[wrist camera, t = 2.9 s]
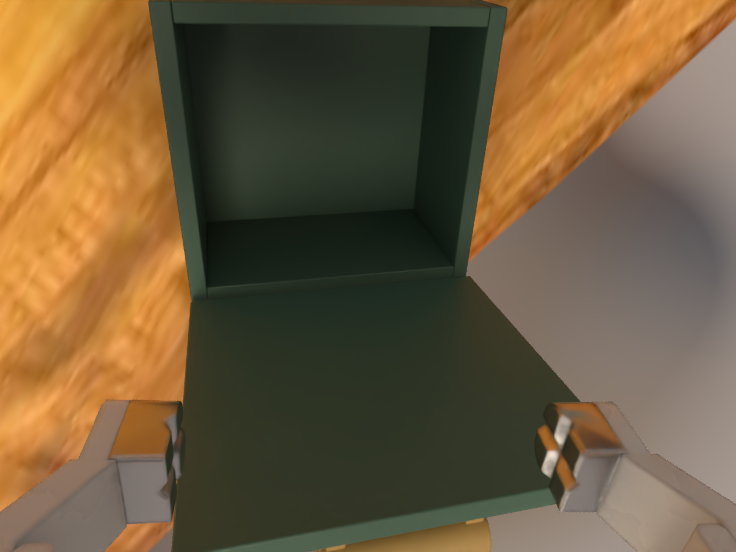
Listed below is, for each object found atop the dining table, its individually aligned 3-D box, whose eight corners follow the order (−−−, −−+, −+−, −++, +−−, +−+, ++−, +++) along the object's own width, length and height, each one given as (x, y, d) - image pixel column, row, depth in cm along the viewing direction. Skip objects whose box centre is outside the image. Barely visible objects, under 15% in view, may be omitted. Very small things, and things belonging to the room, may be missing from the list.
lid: (170, 559, 15) (191, 664, 17) (643, 471, 18) (611, 569, 20) (190, 301, 28) (201, 380, 30) (470, 275, 31) (461, 349, 33)
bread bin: (162, -20, 28) (147, 0, 21) (442, -12, 31) (508, 7, 24) (195, 228, 35) (191, 303, 28) (420, 213, 38) (466, 277, 31)
